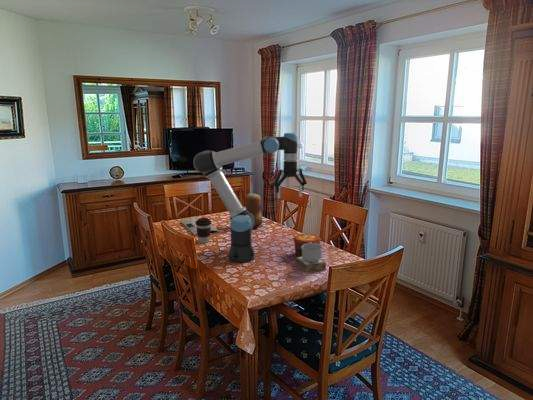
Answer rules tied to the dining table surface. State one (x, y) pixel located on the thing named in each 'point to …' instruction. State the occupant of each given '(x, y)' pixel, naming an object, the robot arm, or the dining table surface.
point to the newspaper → (193, 227)
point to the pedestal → (310, 265)
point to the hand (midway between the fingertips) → (289, 197)
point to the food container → (304, 242)
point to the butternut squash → (254, 208)
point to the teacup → (311, 252)
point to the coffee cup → (203, 230)
